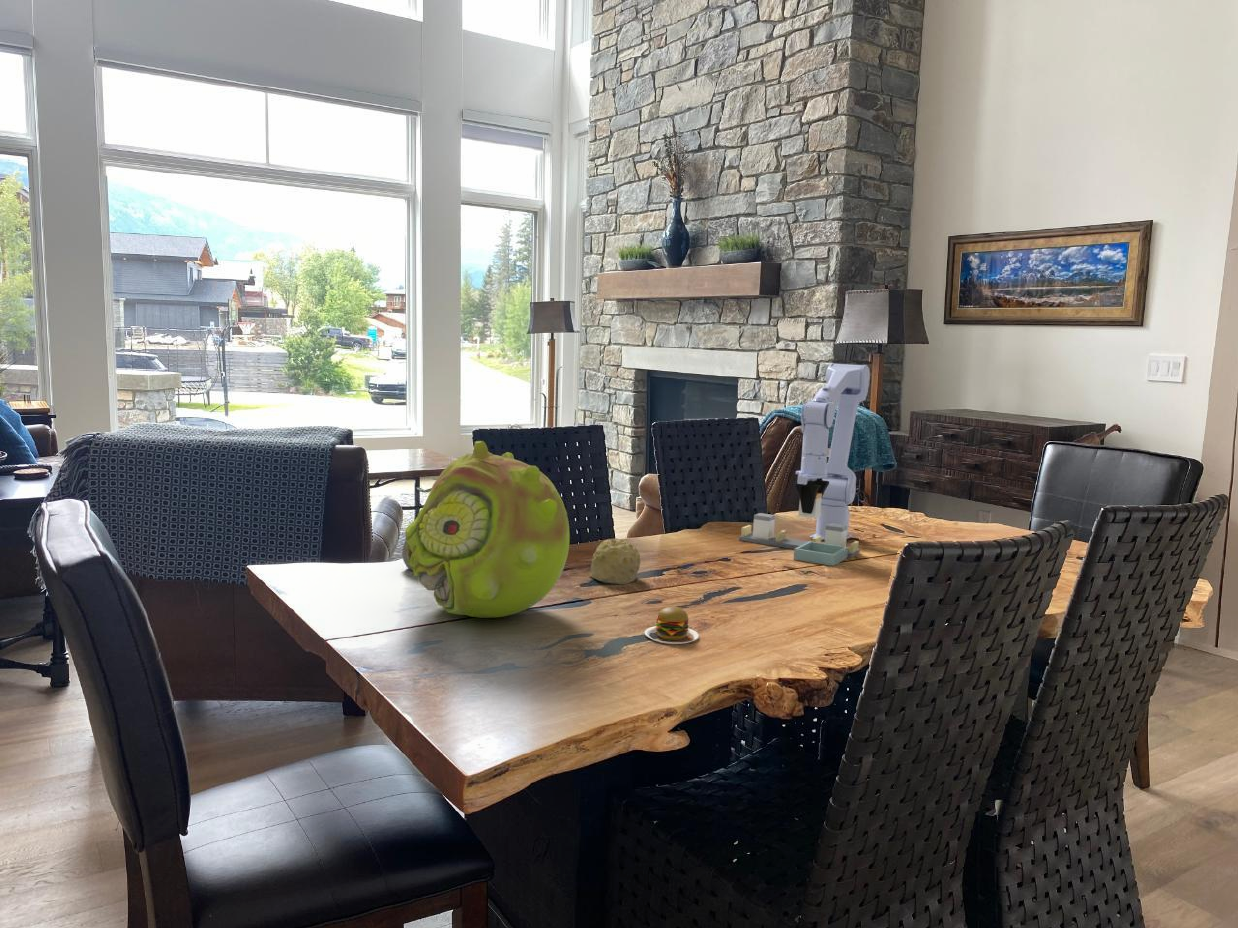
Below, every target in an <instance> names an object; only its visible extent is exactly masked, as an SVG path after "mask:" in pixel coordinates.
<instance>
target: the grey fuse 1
mask: <svg viewBox="0 0 1238 928" xmlns="http://www.w3.org/2000/svg"><path fill="white" fill-rule="evenodd" d="M775 520H776V514H771V513H770V514H768V513H763V512H759V513H756V514H754V515H753V526H752V527H753V529H752V533H753V537H755V538H761V539H767V540H768V539H771V538H773V537H774V536H775V523H776V522H775Z"/></svg>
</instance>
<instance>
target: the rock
mask: <svg viewBox="0 0 1238 928" xmlns="http://www.w3.org/2000/svg"><path fill="white" fill-rule="evenodd" d="M640 565H641V554H640V553H639V550H638V548H636V546H634V544H632V543H630V542H629V541H627V540H625V539H620V538H608V539H604V540H603V541H602V542H600V544H599V545H598V546H597V547H596V550H595V551H594V552H593V555H592V559H591V567H590V573H589V575H590V576H589V577H590V578H591V579H594V580H596V581H599V582H602V583H605V584H613V585H627V584H630V583H632V582H634V581H635V580H636V579H637V578H638V577H637V576H638V575H637V573H638V572H639V570H640V567H641V566H640Z"/></svg>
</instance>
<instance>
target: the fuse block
mask: <svg viewBox="0 0 1238 928" xmlns="http://www.w3.org/2000/svg"><path fill="white" fill-rule="evenodd" d="M752 527H753V526H752V524H751V525H750V524H748V525H745V526H742V527H741V531H740V534H741V535H739V536H738V541H741V542H746V543H754V544H761V545H764V546H766V545H767V546H770V547H771V546H773V547H778V548H785V549H789V550H791V549H792V550H794V549H795V548H797V547H799V546H801V545H803V544H805V543H807V542H809V540H801V539H796V538H790V537H786V533H787V530H783V529H782V530H780V531H777V532H776V533H775V535H774V537H773V538H771V539H768V540H767V539H761V538H755V537H753V532H752ZM821 539H822V536H819V535H818V536H816V537H814V538H811V540H812V541H811V542H818V543H822V540H821ZM859 544H860V543H859V541H857V540H854V541H853V542H851V543H850V544H849V546H847V547H848V556H847V558H846V559H853V558H854V557H856V556H858V555H859V554H860V553H861V549H860V548H859Z"/></svg>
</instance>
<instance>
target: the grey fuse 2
mask: <svg viewBox="0 0 1238 928" xmlns="http://www.w3.org/2000/svg"><path fill="white" fill-rule="evenodd" d="M846 537H847V525H841V524H834V523H830V524H828V525H826V531H825V540H824V544H831V545H837V546H844V547H847V546H846V545H847V539H846Z"/></svg>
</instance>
